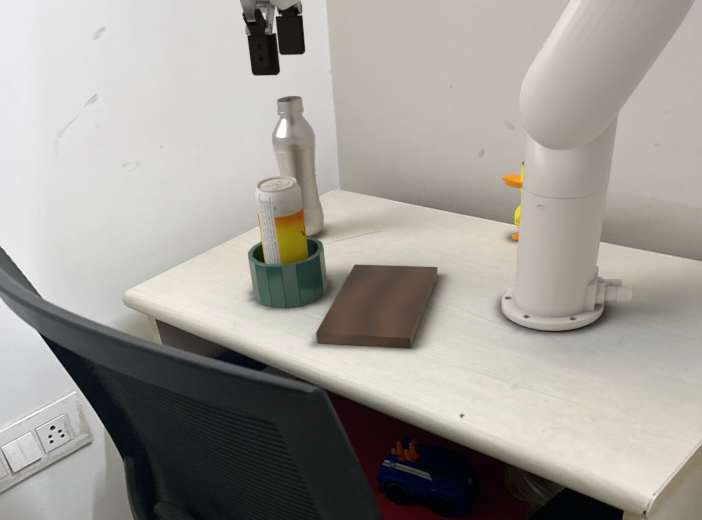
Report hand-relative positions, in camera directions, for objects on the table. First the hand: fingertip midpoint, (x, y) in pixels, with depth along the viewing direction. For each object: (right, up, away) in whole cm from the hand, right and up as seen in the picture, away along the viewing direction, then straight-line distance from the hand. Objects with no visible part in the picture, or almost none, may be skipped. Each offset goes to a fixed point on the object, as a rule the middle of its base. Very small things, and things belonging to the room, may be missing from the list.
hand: (279, 64), depth 90 cm
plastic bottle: (+2, -8, +35) cm, 36 cm away
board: (+13, -25, +13) cm, 31 cm away
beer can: (0, -21, +20) cm, 29 cm away
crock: (0, -21, +20) cm, 29 cm away
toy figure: (+34, -12, +26) cm, 45 cm away
